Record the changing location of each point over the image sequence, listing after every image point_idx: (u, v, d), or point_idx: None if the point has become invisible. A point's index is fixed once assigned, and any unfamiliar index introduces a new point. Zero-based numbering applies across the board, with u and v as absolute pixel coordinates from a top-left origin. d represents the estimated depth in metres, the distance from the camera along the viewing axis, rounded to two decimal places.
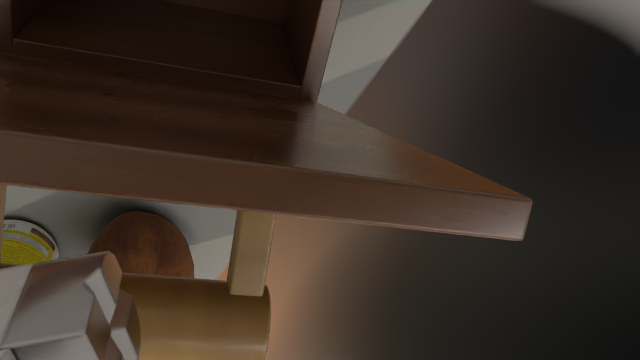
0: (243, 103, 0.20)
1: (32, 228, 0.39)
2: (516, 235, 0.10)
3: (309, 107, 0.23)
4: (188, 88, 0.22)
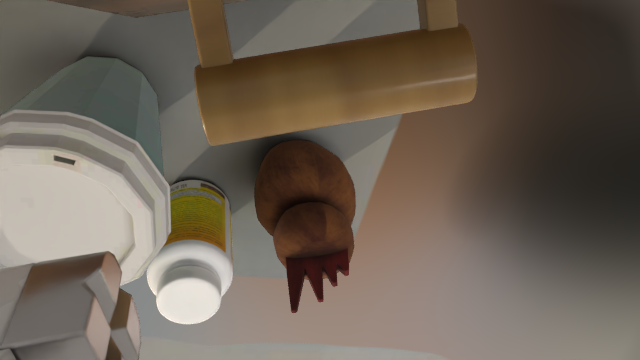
0: None
1: (201, 183, 0.44)
2: None
3: None
4: None
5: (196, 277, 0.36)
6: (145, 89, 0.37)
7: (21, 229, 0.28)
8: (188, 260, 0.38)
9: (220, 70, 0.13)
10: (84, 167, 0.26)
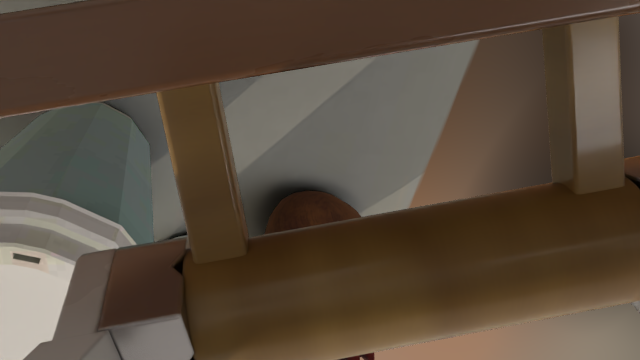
0: None
1: None
2: None
3: None
4: None
5: None
6: (135, 141, 0.31)
7: None
8: None
9: (226, 271, 0.07)
10: (52, 265, 0.21)
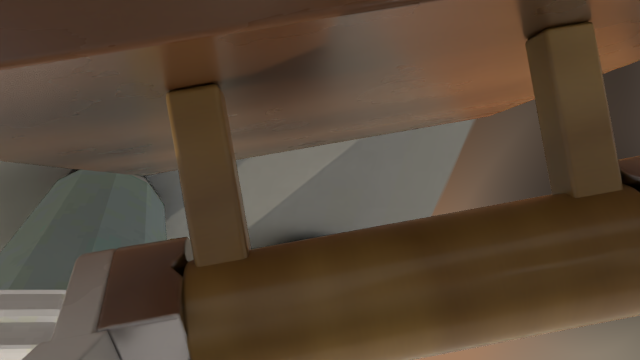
0: None
1: None
2: None
3: None
4: None
5: None
6: (151, 207, 0.33)
7: None
8: None
9: (227, 271, 0.07)
10: None
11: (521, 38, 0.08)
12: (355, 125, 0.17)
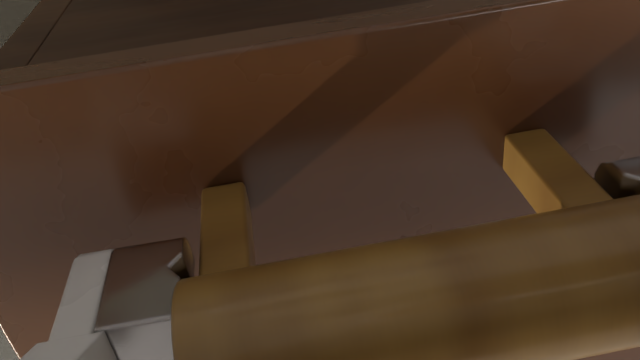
0: None
1: None
2: None
3: None
4: None
5: None
6: None
7: None
8: None
9: (226, 272, 0.07)
10: None
11: (495, 158, 0.10)
12: None
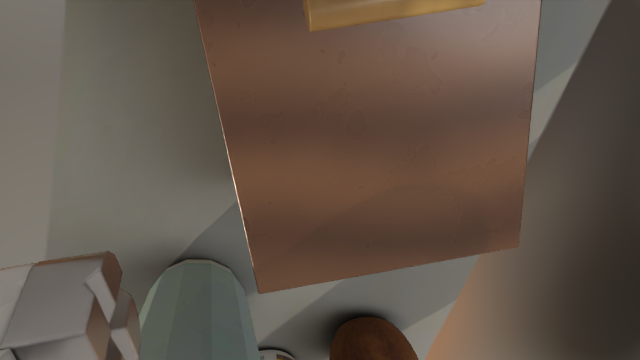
0: None
1: (276, 354, 0.47)
2: None
3: None
4: None
5: None
6: (239, 296, 0.41)
7: None
8: None
9: None
10: None
11: None
12: (401, 171, 0.28)
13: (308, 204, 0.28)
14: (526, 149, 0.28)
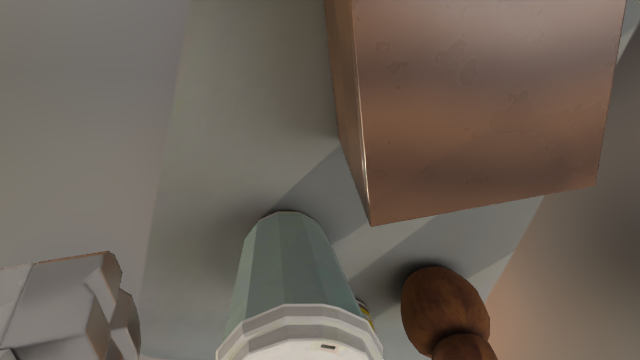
0: None
1: None
2: None
3: None
4: None
5: None
6: (328, 242, 0.45)
7: None
8: None
9: None
10: (341, 350, 0.34)
11: None
12: (502, 114, 0.32)
13: (421, 144, 0.32)
14: (609, 95, 0.32)
